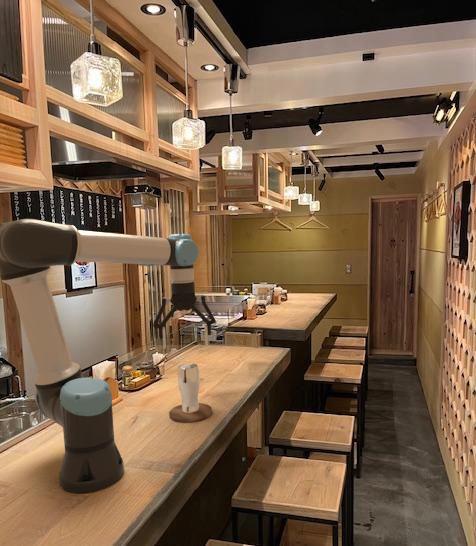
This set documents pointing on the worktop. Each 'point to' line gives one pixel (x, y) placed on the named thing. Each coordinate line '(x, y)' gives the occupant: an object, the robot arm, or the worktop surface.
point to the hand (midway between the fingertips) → (185, 346)
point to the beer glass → (189, 387)
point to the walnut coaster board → (180, 417)
